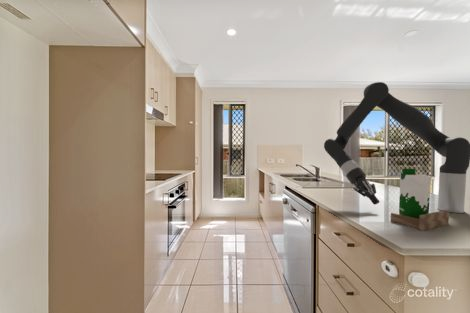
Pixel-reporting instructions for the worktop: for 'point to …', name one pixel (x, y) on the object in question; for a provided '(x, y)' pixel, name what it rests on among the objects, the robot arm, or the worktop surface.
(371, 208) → the worktop surface
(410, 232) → the worktop surface
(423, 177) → the soya milk
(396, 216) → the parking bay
